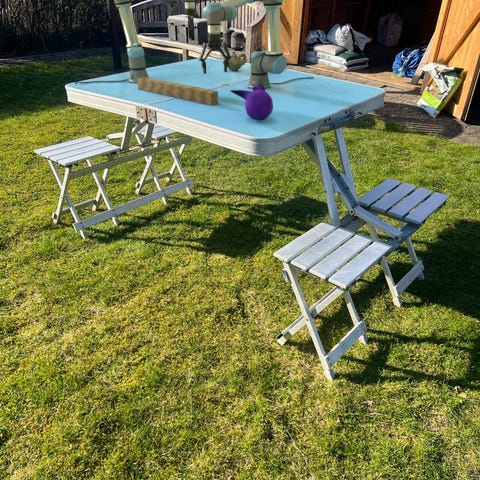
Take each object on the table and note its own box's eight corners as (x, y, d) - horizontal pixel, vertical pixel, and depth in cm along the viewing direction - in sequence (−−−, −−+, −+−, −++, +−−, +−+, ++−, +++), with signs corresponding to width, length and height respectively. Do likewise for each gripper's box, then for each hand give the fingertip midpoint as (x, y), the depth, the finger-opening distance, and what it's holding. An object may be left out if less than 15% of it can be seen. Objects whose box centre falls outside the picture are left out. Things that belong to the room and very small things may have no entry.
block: (138, 89, 315) (136, 77, 311) (144, 87, 319) (143, 76, 315) (211, 105, 271) (210, 92, 267) (218, 103, 275) (217, 90, 271)
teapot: (226, 73, 360) (226, 53, 352) (220, 71, 368) (219, 51, 361) (249, 70, 369) (249, 50, 361) (242, 68, 377) (242, 49, 370)
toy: (255, 109, 260) (272, 127, 239) (226, 104, 252) (242, 122, 232) (262, 81, 252) (281, 97, 231) (233, 76, 244) (251, 92, 224)
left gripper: (197, 9, 325) (198, 41, 336) (192, 7, 346) (194, 37, 357) (187, 9, 323) (188, 41, 334) (183, 7, 344) (185, 37, 355)
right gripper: (196, 34, 247) (198, 75, 257) (236, 32, 257) (236, 71, 268) (191, 33, 253) (193, 73, 263) (230, 31, 263) (231, 70, 273)
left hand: (191, 39), depth 345 cm, fingers open, 13 cm apart
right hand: (215, 72), depth 265 cm, fingers open, 13 cm apart
